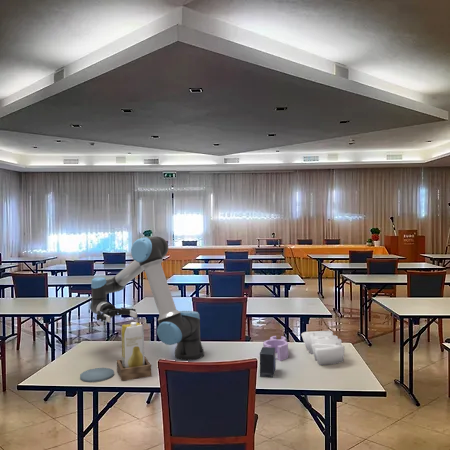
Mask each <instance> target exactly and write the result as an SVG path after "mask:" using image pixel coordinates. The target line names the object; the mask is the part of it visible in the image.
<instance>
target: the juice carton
mask: <svg viewBox="0 0 450 450" xmlns="http://www.w3.org/2000/svg"><path fill="white" fill-rule="evenodd" d="M144 332H145V331H144V325H143V324H141V323H140V322H137V321H132V322H130V323H129V324H122V325H121V359H122V366H123V368H130V367H137V366H143V365H145V358H144V356H145V336H144V335H145V333H144Z"/></svg>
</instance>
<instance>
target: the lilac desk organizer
mask: <svg viewBox="0 0 450 450" xmlns="http://www.w3.org/2000/svg"><path fill="white" fill-rule="evenodd" d="M262 347H269V348H275V354H277V360H278V361H279V362H282V361H283V360H285V359H288V357H289V342H288V341H287V337H285V336H284V335H283V336H282V335H280V339H277V335H273V336H270V337H269V339H267V340H264V341H263V345H262Z"/></svg>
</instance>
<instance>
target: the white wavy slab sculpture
mask: <svg viewBox="0 0 450 450" xmlns="http://www.w3.org/2000/svg"><path fill="white" fill-rule="evenodd" d="M301 337H302V340H303V343H304V345H305V349H306V351H308V353H309V354H310V355H313V357H314V361H316V362H317V364H318V365H320V366H321V365H322V366H323V365H324V366H325V365H326V366H328V365H335V364H340V363H342V362H344V358H345V357H344V356H345V346H344V345H343V343H342V341H343V340H342V339H341V338H338V337H339V336H337V335H335V334H334V332H333V331H332V330H316V331H304V332H302V333H301Z"/></svg>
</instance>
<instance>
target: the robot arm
mask: <svg viewBox="0 0 450 450" xmlns="http://www.w3.org/2000/svg"><path fill="white" fill-rule="evenodd" d="M168 253H169V244H168V242H167V240H166V239H165V238H163V237H162V236H151V237H150V236H148V237H146V236H145V237H141V238H137V239H136V240H135V241H134V242H133V243H132V246H131V248H130V255H131V257H132V259H133V261H132V262H131V263H129V264H128V265H127V266H125V267H124V268H123V269H122V270H120V271H119V272H118V273H117V274H116V275H115V276H113V277H112V278H110V279H107V278H106V277H94V278H92V279H91V282H90V283H91V286H90V287H91V301H90V302H89V309H90V311H91V312H92V313H93V314H95V315H96V321H100V322H107V323H111V321H112V320H111V319H112V318H113V317H117V316H118V317H119V316H130V317H131V318H135V319H137V318H138V312H137V311H136V310H137V309H135V308H127V307H120V308H119V307H118V308H116V307H115V305H114V304H112V303H110V302H108V301H107V295H108V294H112V293H117V292H120V291H123V290H125V288H126V285H127V284H129V283H130V282H131V281H133V280H134V279H135V278H136V277H137V276H138V275H140V274H141V273H143V272H145V276H146V278H147V281H148V285H149V288H150V290H151V293H152V297H153V299H154V302H155V306H156V308H157V312H158V315H159V316H158V319H157V322H158V325H157V330H156V334H157V337H158V339H159V340H160V342H162V343H163V344H165V345H168V346H172V345H175V344H176V346H175V350H174V358H175V359H177V360H181V361H195V360H199V359H201V358H203V357H204V356H205V351H204V347H203V345H202V342H201V321H200V320H201V318H200V313H199V312H198V311H194V310H180V311H179V310H177V308H176V304H175V301H174V299H173V296H172V293H171V289H170V286H169V284H168V281H167V277H166V275H165V272H164V268H163V266H162V262H163V261H164V260H163V258H165V257H166V255H167V254H168Z"/></svg>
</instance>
